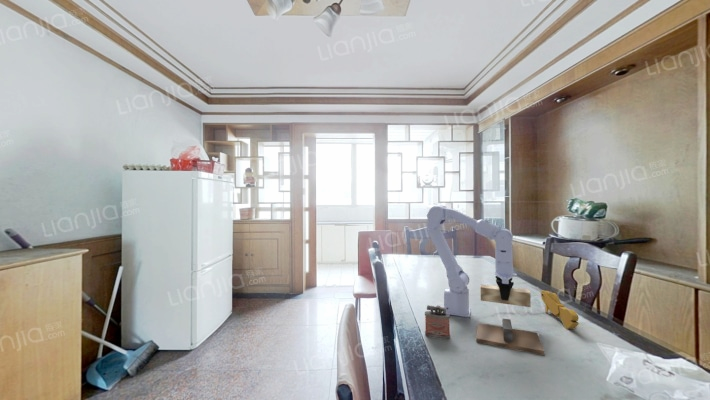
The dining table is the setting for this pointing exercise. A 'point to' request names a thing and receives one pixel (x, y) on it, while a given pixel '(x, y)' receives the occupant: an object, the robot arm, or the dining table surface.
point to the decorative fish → (559, 310)
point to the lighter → (437, 322)
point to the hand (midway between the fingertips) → (504, 298)
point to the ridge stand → (509, 337)
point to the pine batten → (515, 298)
